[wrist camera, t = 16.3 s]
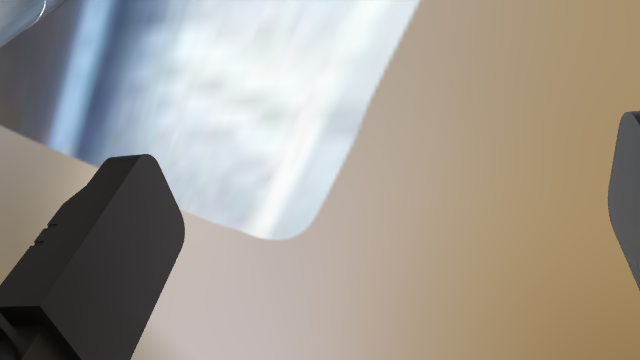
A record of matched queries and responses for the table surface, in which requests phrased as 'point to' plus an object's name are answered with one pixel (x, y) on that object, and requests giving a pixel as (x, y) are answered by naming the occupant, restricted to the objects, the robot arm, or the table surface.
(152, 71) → the table surface
